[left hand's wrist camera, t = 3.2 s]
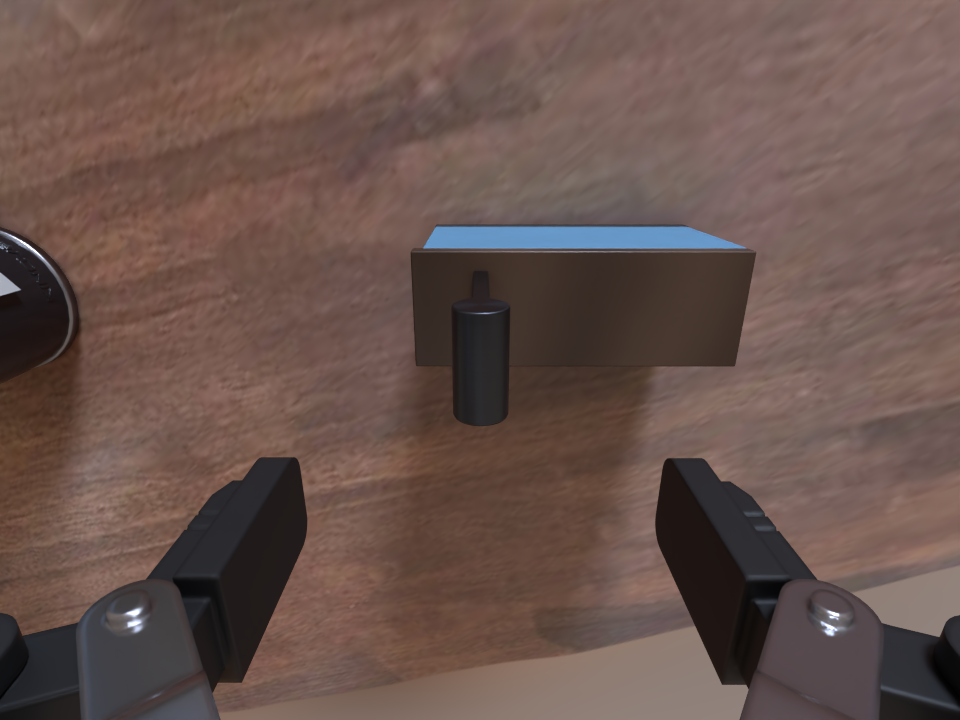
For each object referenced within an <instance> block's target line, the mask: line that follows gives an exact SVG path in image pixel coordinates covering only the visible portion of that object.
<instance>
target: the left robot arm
mask: <svg viewBox="0 0 960 720" xmlns="http://www.w3.org/2000/svg"><path fill="white" fill-rule="evenodd" d="M78 318H79V314H78V306H77V301H76V298H75V294H74V292H73V289H72V287H71V285H70V283H69V281H68V279H67V278H66V276H65V274H64V273H63V271H62V270H61V269H60V267H59V266H58V265H57V264H56V263H55V261H54V260H53V259H52V258H51V257H50V256H49V255H48V254H47V253H46V252H44V251H43V250H42V249H41V248H40V247H38V246H37V245H36V244H34V243H33V242H31V241H30V240H28V239H27V238H25V237H23V236H21V235H19V234H17V233H15V232H12V231H10V230H7V229H4V228H0V384H1V383H3V382H5V381H7V380H10V379H12V378H14V377H16V376H18V375H20V374H22V373H24V372H26V371H28V370H30V369H32V368H36V367H39V366H42V365H44V364H46V363H48V362H51V361H53V360H55V359H56V358H58V357H59V356H61V355H62V354H63V353H64V352H65V351H66V350H67V349H68V348H69V346H70V345H71V344H72V342H73V340H74V338H75V335H76V332H77V328H78ZM655 527H656V536H657V541H658V544H659V547H660V549H661V552H662V554H663V556H664V558H665V560H666V563H667V565H668V567H669V569H670V571H671V574H672V576H673V578H674V580H675V582H676V585H677V587H678V589H679V591H680V593H681V595H682V598H683V600H684V602H685V604H686V606H687V609H688V611H689V613H690V615H691V617H692V620H693V622H694V624H695V626H696V628H697V631H698V633H699V635H700V637H701V639H702V642H703V644H704V646H705V648H706V650H707V652H708V655H709V657H710V659H711V661H712V664H713V666H714V668H715V670H716V672H717V674H718V677H719V679H720V681H721V683H722V685H747V687H748V689H749V691H748V694H747V697H746V700H745V704H744V707H743V710H742V713H741V717H740V720H960V615H959V616H954V617H952V618H950V619H949V620H948V621H947V622H946V624H945V626H944V628H943V631H942V633H941V635H940V637H936V636H932V635H928V634H924V633H919V632H915V631H911V630H907V629H903V628H898V627H894V626H890V625H887V624H883V623H881V621H880V619H879V618H878V616H877V615H876V614H875V612H874V611H873V610H872V609H871V608H870V607H869V606H868V605H867V604H866V603H864V602H863V601H862V600H861V599H859V598H858V597H856V596H855V595H853V594H852V593H850V592H848V591H846V590H844V589H842V588H840V587H838V586H836V585H833V584H830V583H827V582H823V581H819V580H817V579H816V577H815V576H814V575H813V574H812V572H811V571H810V570H809V568H808V567H807V566H806V565H805V563H804V562H803V561H802V560H801V558H800V557H799V556H798V555H797V553H796V552H795V551H794V550H793V548H792V547H791V546H790V544H789V543H788V542H787V541H786V539H785V538H784V537H783V536H782V534H781V533H780V532H779V531H776V527H775V525H774V524H773V523H772V522H771V520H770V519H769V518H768V517H765V513H764V512H763V510H762V509H761V508H760V507H759V505H758V504H757V503H756V501H755V500H754V499H753V498H752V496H750V495H749V494H747V493H746V492H745V491H743V490H742V489H740V488H739V487H737V486H736V485H734V484H733V483H731V482H721V481H720V480H719V478H718V477H717V475H716V474H715V473H714V471H713V470H712V469H711V467H710V466H709V465H708V463H707V462H706V461H705V460H704V459H702V458H668V459H666V461H665V462H664V465H663V470H662V477H661V483H660V490H659V497H658V504H657V511H656V519H655ZM306 532H307V513H306V506H305V499H304V492H303V485H302V478H301V471H300V465H299V462H298V460H297V459H296V458H294V457H261V458H259V459H258V460H257V461H256V462H255V464H254V465H253V466H252V468H251V469H250V471H249V472H248V473H247V475H246V476H245V477H244V479H243V480H242V481H232V482H230V483H229V484H227V485H226V486H224V487H223V488H222V489H220V490H219V491H217V492H216V493H214V494H213V495H212V496H211V497H210V498H209V500H208V501H207V502H206V503H205V505H204V506H203V507H202V508H201V510H200V511H199V515H196V516H195V517H194V519H193V520H192V521H191V522H190V524H189V525H188V528H187V530H184V531H183V533H182V534H181V535H180V537H179V538H178V539H177V540H176V542H175V543H174V544H173V545H172V547H171V548H170V549H169V551H168V552H167V553H166V554H165V556H164V557H163V558H162V559H161V561H160V562H159V563H158V565H157V566H156V567H155V568H154V570H153V571H152V572H151V574H150V575H149V576H148V577H147V579H146V580H141V581H137V582H133V583H130V584H127V585H124V586H122V587H120V588H118V589H116V590H114V591H112V592H110V593H108V594H107V595H105V596H104V597H102V598H101V599H99V600H98V601H97V602H96V603H94V604H93V605H92V606H91V607H90V608H89V609H88V610H87V611H86V612H85V614H84V615H83V616H82V618H81V619H80V621H79V622H78V623H75V624H71V625H66V626H62V627H58V628H54V629H50V630H45V631H41V632H37V633H33V634H29V635H24V636H22V634H21V631H20V629H19V626H18V624H17V622H16V620H15V619H14V618H13V617H12V616H10V615H8V614H3V613H0V720H220V717H219V713H218V710H217V707H216V704H215V700H214V697H213V694H212V693H213V691H214V689H215V687H216V685H217V683H242V681H243V679H244V676H245V674H246V672H247V670H248V668H249V665H250V663H251V661H252V659H253V656H254V654H255V652H256V650H257V648H258V645H259V643H260V641H261V639H262V636H263V634H264V632H265V630H266V628H267V625H268V623H269V621H270V619H271V616H272V614H273V612H274V610H275V608H276V605H277V603H278V601H279V599H280V596H281V594H282V592H283V590H284V588H285V585H286V583H287V581H288V579H289V576H290V574H291V572H292V570H293V568H294V565H295V563H296V561H297V559H298V556H299V554H300V552H301V550H302V548H303V545H304V542H305V538H306Z"/></svg>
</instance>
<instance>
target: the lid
mask: <svg viewBox="0 0 960 720" xmlns="http://www.w3.org/2000/svg"><path fill="white" fill-rule="evenodd" d="M755 256H756V251H753V250H750V249H747V248H414V249H413V250H412V251H411V270H412V292H413V313H414V334H415V356H416V366H452V369H453V414H454V416H455V418H456V419H457V420H459V421H460V422H462V423H465V424H468V425H473V426H488V425H493V424H497V423H499V422H501V421H503V420H504V419H505V418H506V417H507V415H508V395H509V366H735V363H736V358H737V352H738V347H739V342H740V336H741V331H742V326H743V320H744V315H745V310H746V304H747V299H748V294H749V288H750V283H751V278H752V272H753V267H754V262H755Z"/></svg>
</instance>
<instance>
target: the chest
mask: <svg viewBox="0 0 960 720" xmlns="http://www.w3.org/2000/svg"><path fill="white" fill-rule="evenodd" d="M423 248H745V247H742V246H739V245H737V244H734V243H731V242H728V241H725V240H723V239H720V238H717V237H714V236H711V235H709V234H706V233H703V232H700V231H697V230H695V229H692V228H689V227H688V226H685V225H436V227H435V229H434V231H433V233H432V234H431V236H430V238H429V239H428V241H427V242H426V244H425V246H424V247H423Z"/></svg>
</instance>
